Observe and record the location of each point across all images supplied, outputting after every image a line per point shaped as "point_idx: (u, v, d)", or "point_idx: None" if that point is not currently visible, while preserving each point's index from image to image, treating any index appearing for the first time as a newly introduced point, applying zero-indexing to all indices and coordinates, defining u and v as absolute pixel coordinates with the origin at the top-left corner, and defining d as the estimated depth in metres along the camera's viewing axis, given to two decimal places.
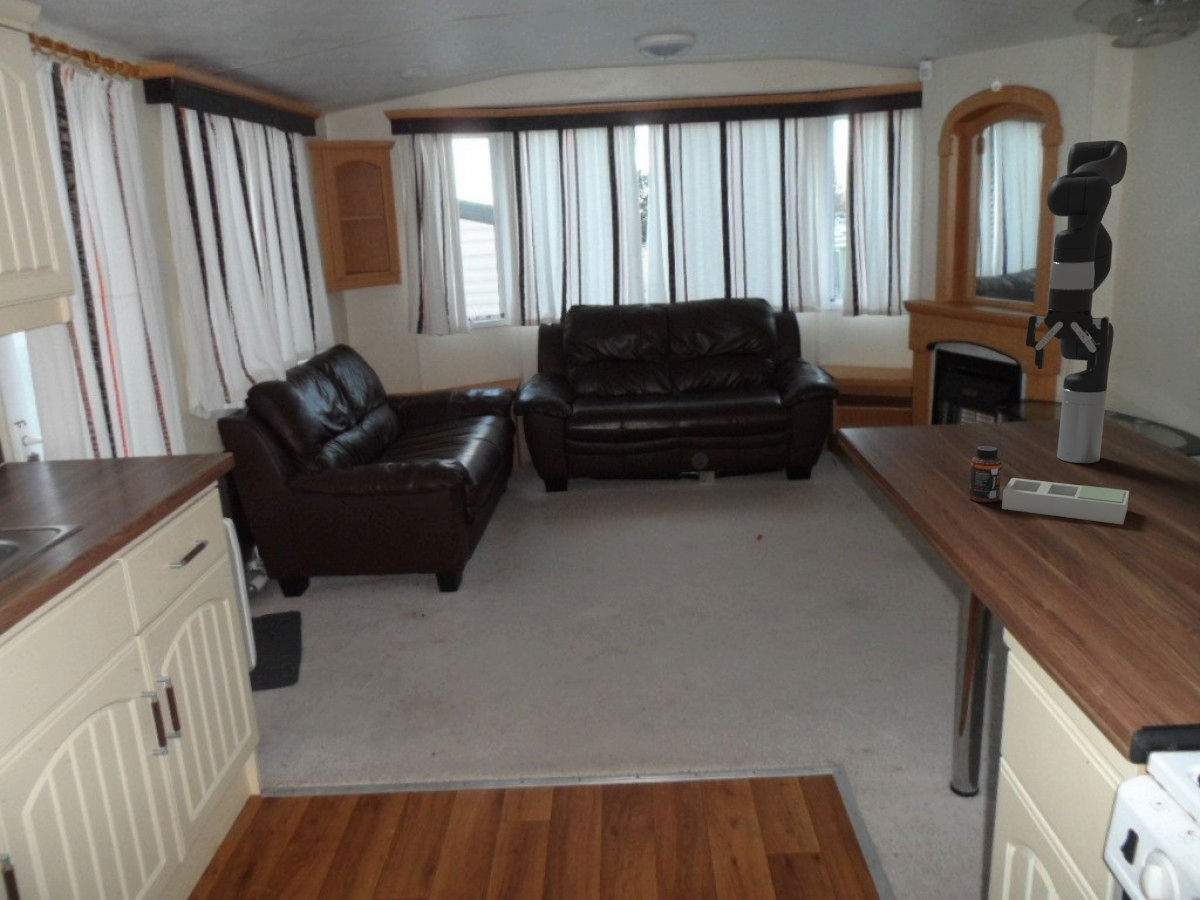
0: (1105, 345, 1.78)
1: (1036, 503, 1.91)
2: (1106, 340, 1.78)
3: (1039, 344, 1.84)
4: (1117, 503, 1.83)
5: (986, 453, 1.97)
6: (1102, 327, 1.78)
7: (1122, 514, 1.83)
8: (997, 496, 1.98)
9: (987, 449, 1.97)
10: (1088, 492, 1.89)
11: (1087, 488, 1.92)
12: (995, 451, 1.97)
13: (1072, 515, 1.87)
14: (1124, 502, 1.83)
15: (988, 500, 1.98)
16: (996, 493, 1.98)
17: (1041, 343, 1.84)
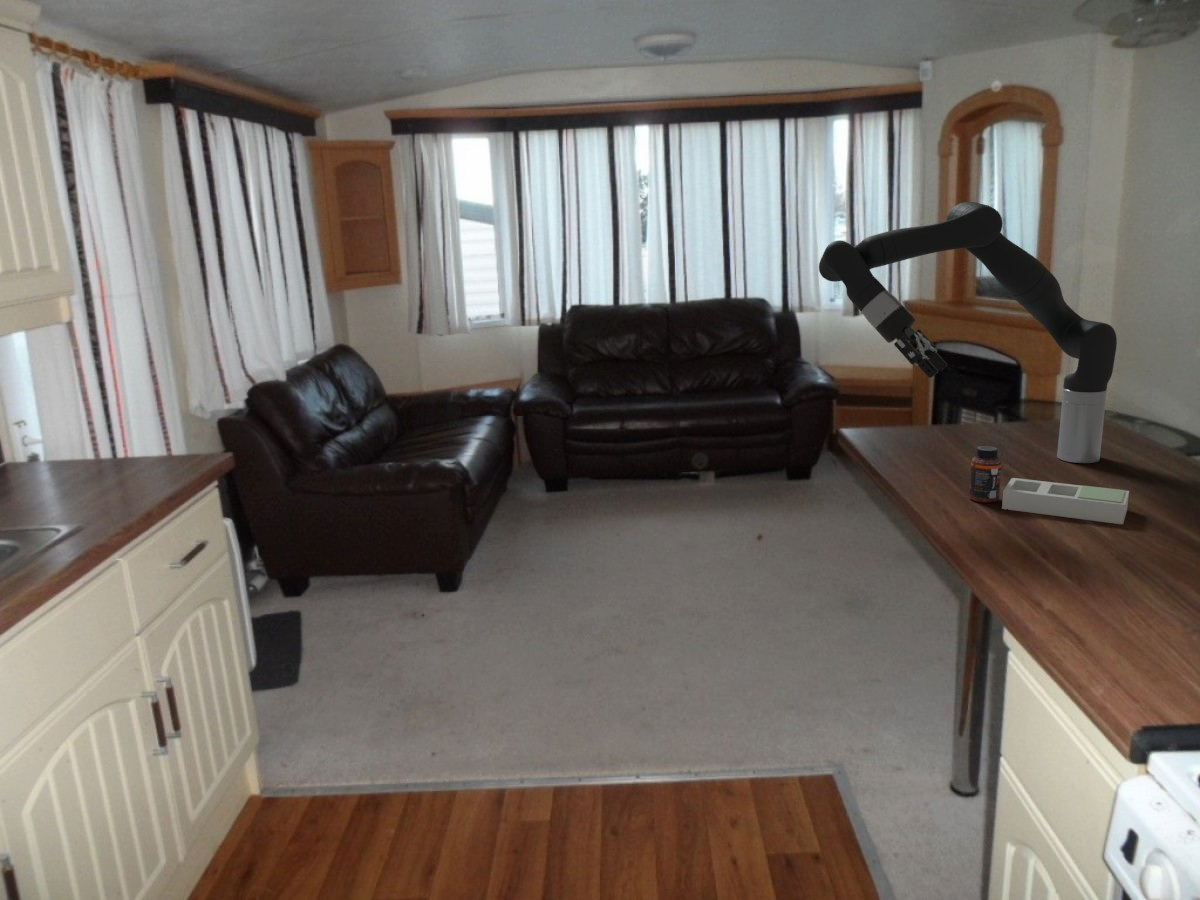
0: (910, 362, 1.98)
1: (1036, 503, 1.91)
2: (907, 358, 1.98)
3: None
4: (1117, 503, 1.83)
5: (986, 453, 1.97)
6: None
7: (1122, 514, 1.83)
8: (997, 496, 1.98)
9: (987, 449, 1.97)
10: (1088, 492, 1.89)
11: (1087, 488, 1.92)
12: (995, 451, 1.97)
13: (1072, 515, 1.87)
14: (1124, 502, 1.83)
15: (988, 500, 1.98)
16: (996, 493, 1.98)
17: None
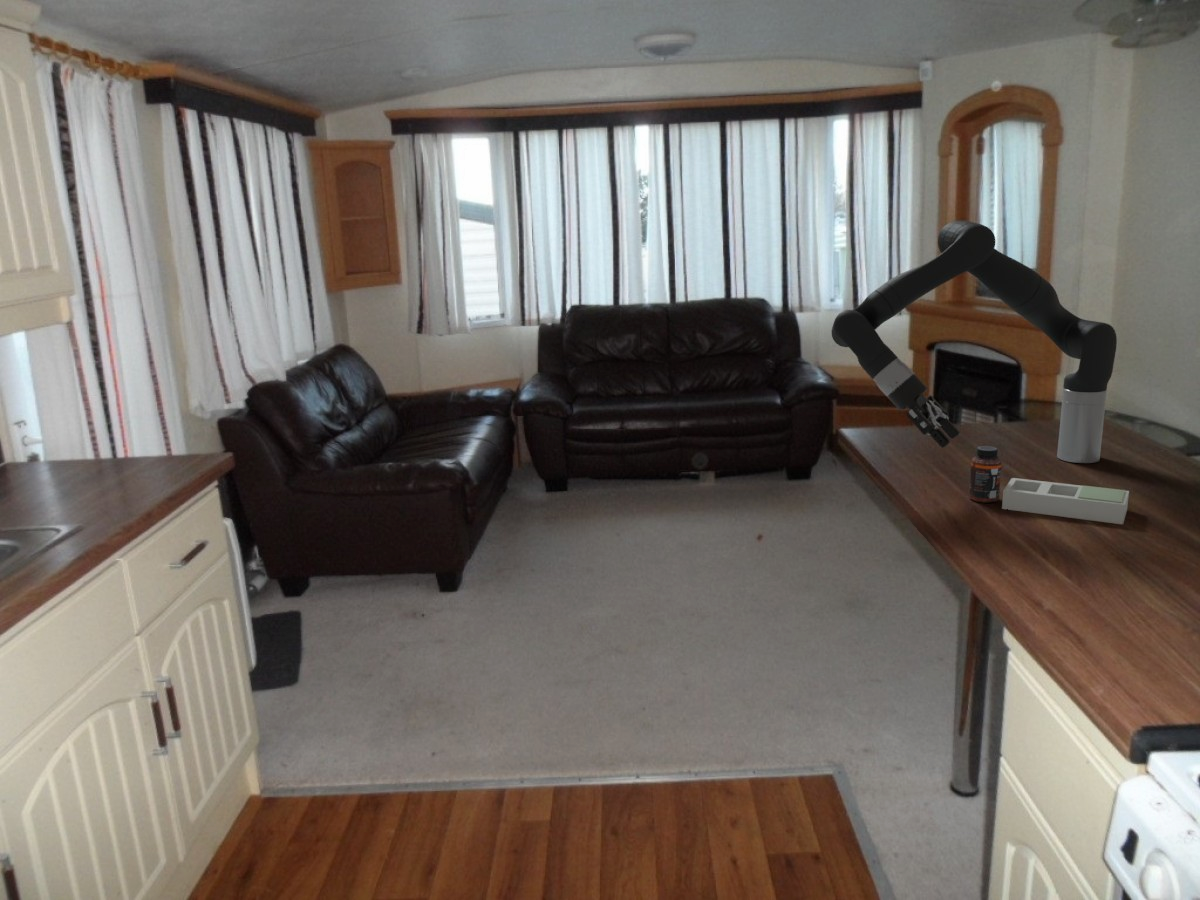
0: (922, 432, 1.98)
1: (1036, 503, 1.91)
2: (919, 428, 1.98)
3: None
4: (1117, 503, 1.83)
5: (986, 453, 1.97)
6: None
7: (1122, 514, 1.83)
8: (997, 496, 1.98)
9: (987, 449, 1.97)
10: (1088, 492, 1.89)
11: (1087, 488, 1.92)
12: (995, 451, 1.97)
13: (1072, 515, 1.87)
14: (1124, 502, 1.83)
15: (988, 500, 1.98)
16: (996, 493, 1.98)
17: None
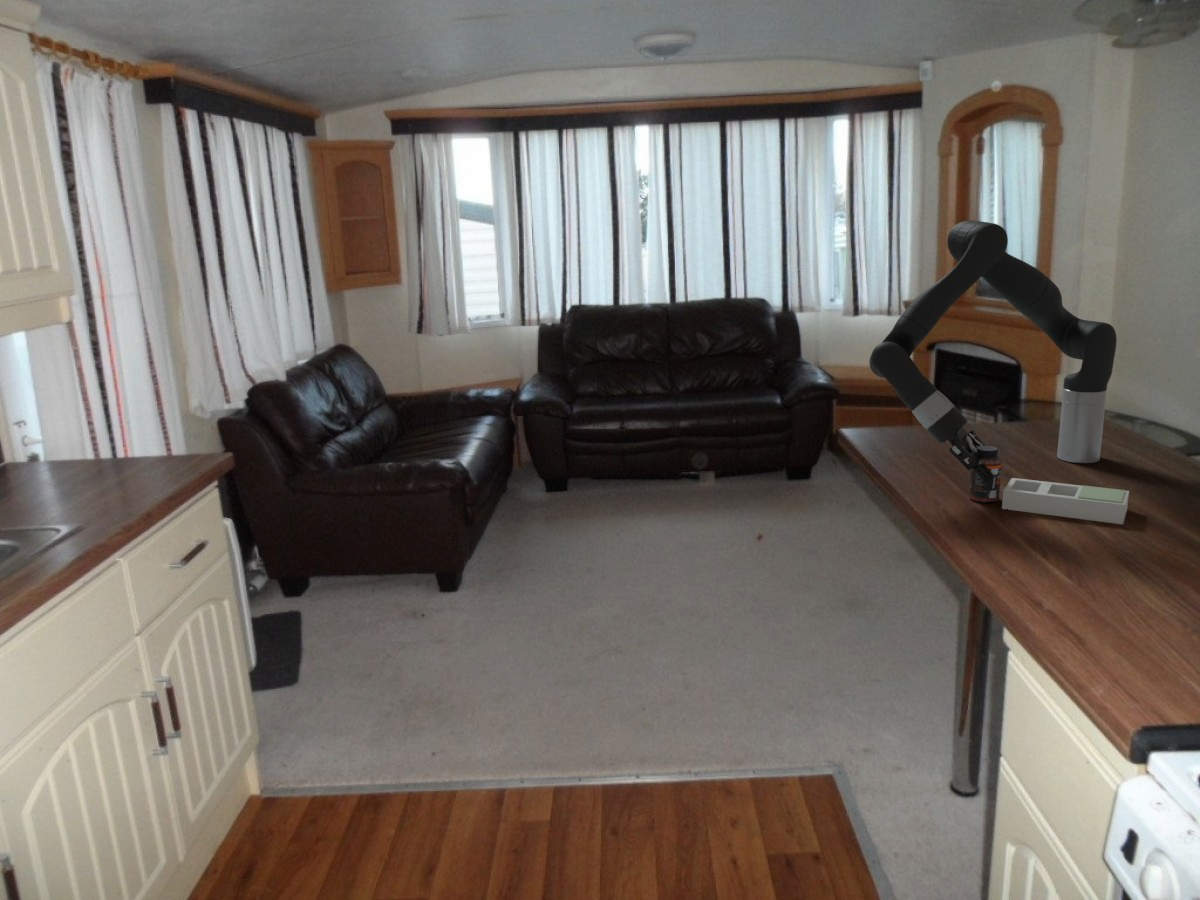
0: (966, 468, 1.96)
1: (1036, 503, 1.91)
2: (963, 464, 1.95)
3: None
4: (1117, 503, 1.83)
5: (986, 453, 1.97)
6: None
7: (1122, 514, 1.83)
8: (997, 496, 1.98)
9: (987, 449, 1.97)
10: (1088, 492, 1.89)
11: (1087, 488, 1.92)
12: (995, 451, 1.97)
13: (1072, 515, 1.87)
14: (1124, 502, 1.83)
15: (988, 500, 1.98)
16: (996, 493, 1.98)
17: None
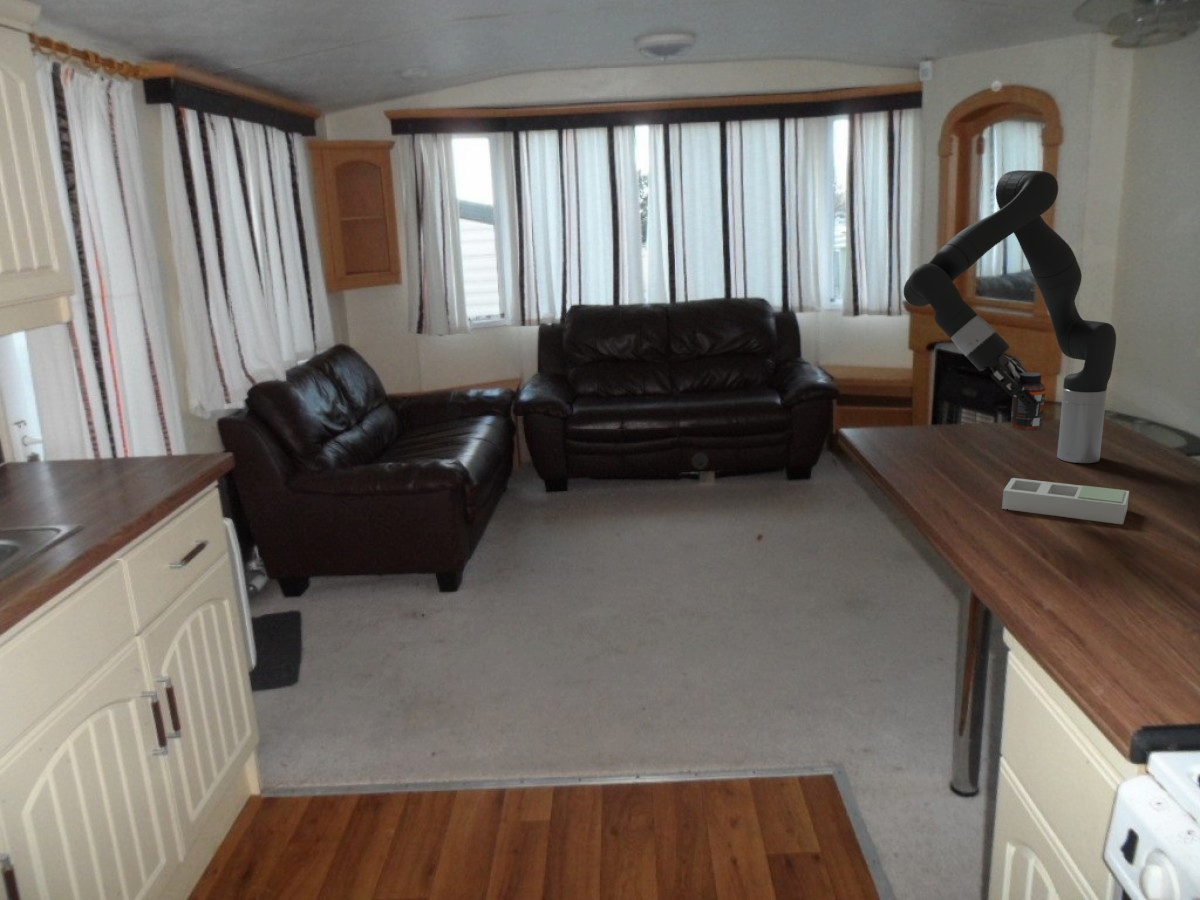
0: (1009, 394, 1.88)
1: (1036, 503, 1.91)
2: (1006, 391, 1.88)
3: None
4: (1117, 503, 1.83)
5: (1029, 379, 1.89)
6: None
7: (1122, 514, 1.83)
8: (1040, 424, 1.91)
9: (1030, 375, 1.89)
10: (1088, 492, 1.89)
11: (1087, 488, 1.92)
12: (1039, 376, 1.89)
13: (1072, 515, 1.87)
14: (1124, 502, 1.83)
15: (1031, 428, 1.90)
16: (1040, 420, 1.90)
17: None
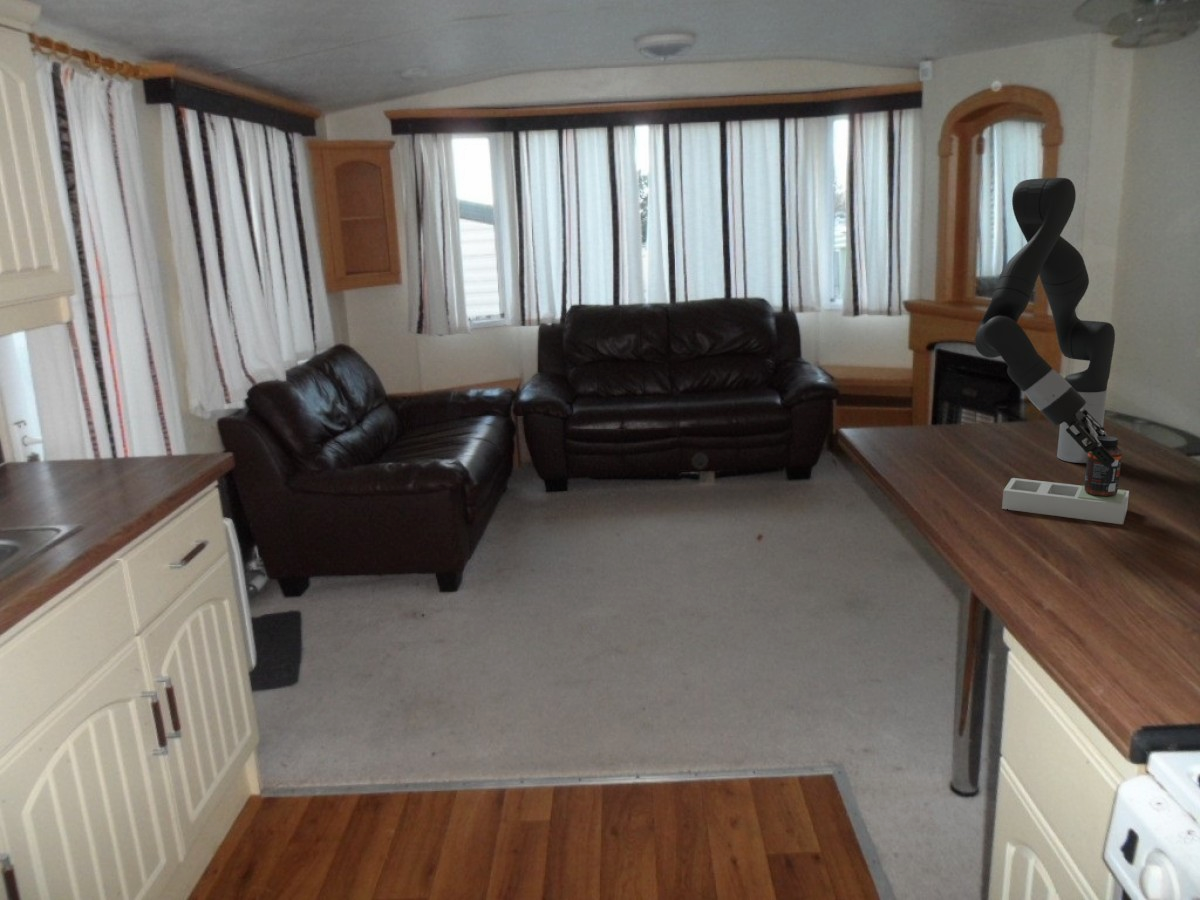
0: None
1: (1036, 503, 1.91)
2: (1081, 446, 1.82)
3: None
4: (1117, 503, 1.83)
5: (1106, 443, 1.84)
6: None
7: (1122, 514, 1.83)
8: (1116, 489, 1.86)
9: (1107, 439, 1.85)
10: None
11: None
12: (1116, 441, 1.84)
13: (1072, 515, 1.87)
14: (1124, 502, 1.83)
15: (1107, 493, 1.86)
16: (1116, 486, 1.86)
17: None
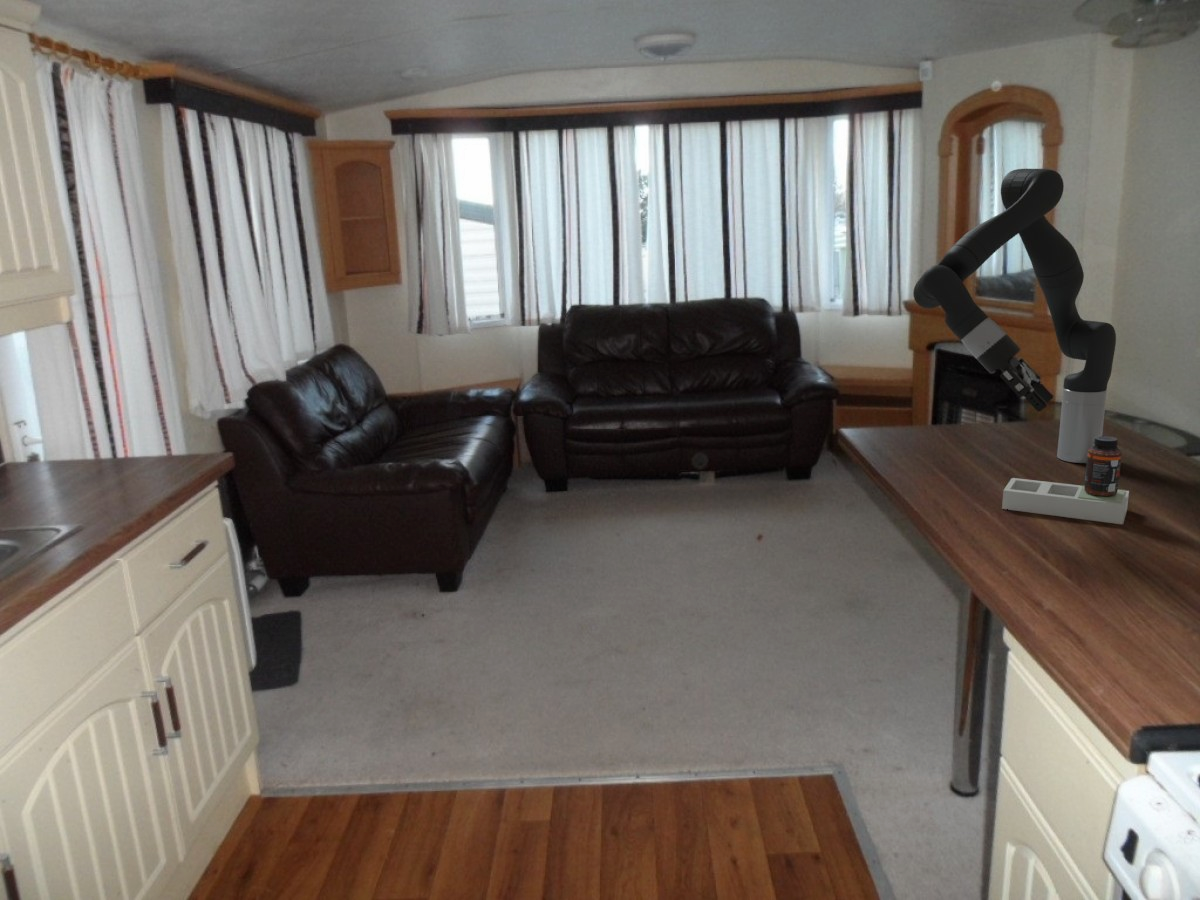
0: None
1: (1036, 503, 1.91)
2: (1014, 391, 1.86)
3: None
4: (1117, 503, 1.83)
5: (1105, 443, 1.84)
6: None
7: (1122, 514, 1.83)
8: (1116, 489, 1.86)
9: (1106, 439, 1.85)
10: None
11: None
12: (1115, 441, 1.84)
13: (1072, 515, 1.87)
14: (1124, 502, 1.83)
15: (1106, 494, 1.86)
16: (1116, 486, 1.86)
17: None
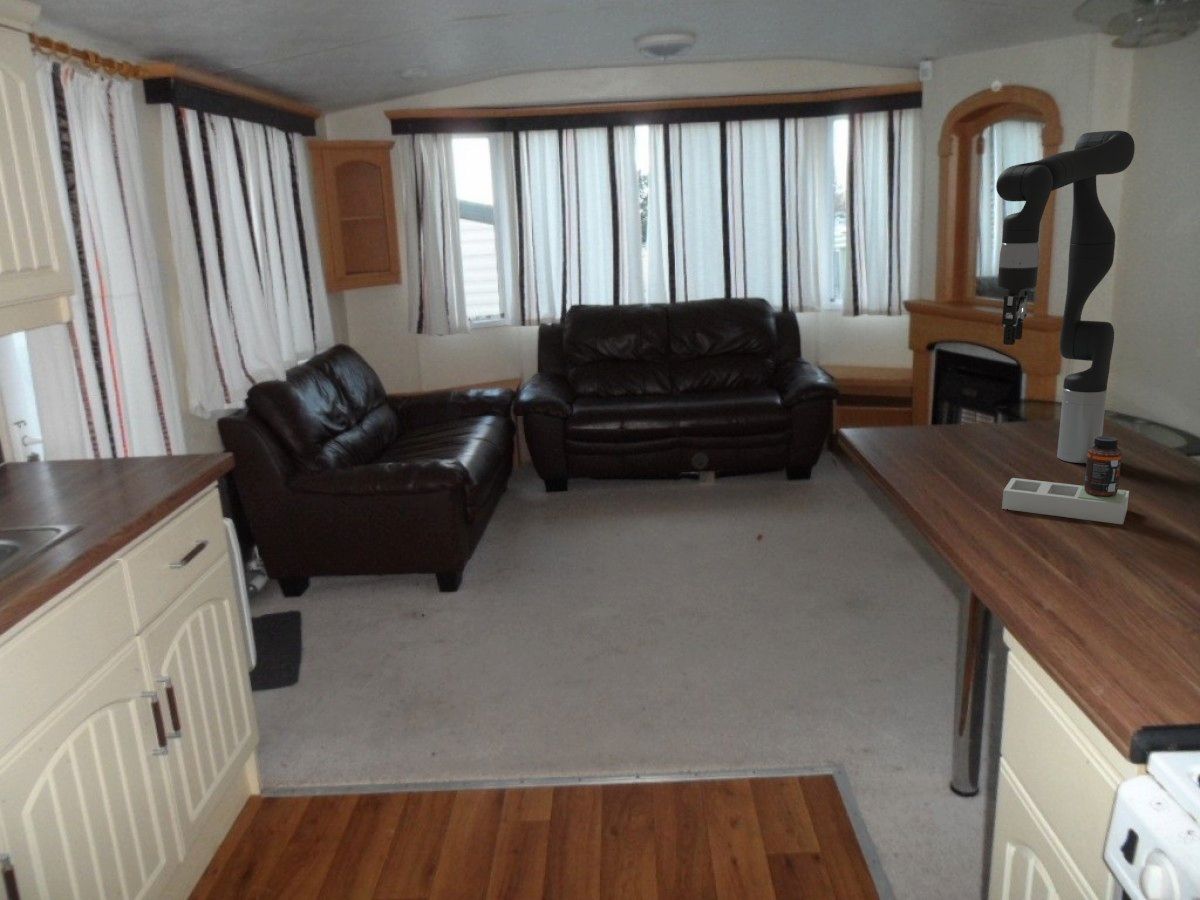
0: (1002, 321, 1.95)
1: (1036, 503, 1.91)
2: (1003, 316, 1.95)
3: None
4: (1117, 503, 1.83)
5: (1105, 443, 1.84)
6: (1004, 304, 1.95)
7: (1122, 514, 1.83)
8: (1116, 489, 1.86)
9: (1106, 439, 1.85)
10: None
11: None
12: (1115, 441, 1.84)
13: (1072, 515, 1.87)
14: (1124, 502, 1.83)
15: (1106, 494, 1.86)
16: (1116, 486, 1.86)
17: None
